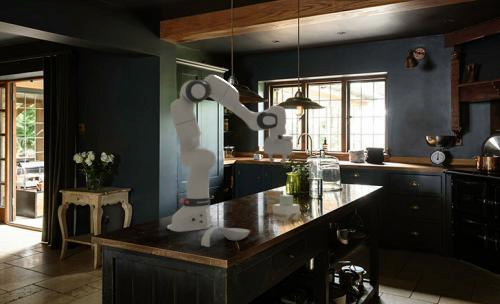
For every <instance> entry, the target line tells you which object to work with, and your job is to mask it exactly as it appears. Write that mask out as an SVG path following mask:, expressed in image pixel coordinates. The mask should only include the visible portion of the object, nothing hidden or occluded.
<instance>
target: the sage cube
mask: <svg viewBox="0 0 500 304" xmlns="http://www.w3.org/2000/svg"><path fill="white" fill-rule="evenodd" d="M293 204H294V195H292V194H283V195H280V205H283V206H290V205H293Z"/></svg>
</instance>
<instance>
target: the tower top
mask: <svg viewBox="0 0 500 304" xmlns="http://www.w3.org/2000/svg"><path fill="white" fill-rule="evenodd" d="M300 208H301V207H300V204H296V203H293V205H290V206H283V205H280V204H275V205H273V213H279V214H284V215H289V214H294V213H299V212H300V211H301V210H300ZM300 213H301V212H300Z"/></svg>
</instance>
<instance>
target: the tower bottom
mask: <svg viewBox="0 0 500 304" xmlns="http://www.w3.org/2000/svg"><path fill="white" fill-rule="evenodd" d="M272 219H273V220H276V221H279V220H280V221H281V222H284V221H285V222H284V223H288V222H287V221H289V222H293V221H298V220H299V221H300V220H301V212H299V213H294V214H289V215H284V214H279V213H273V214H272Z"/></svg>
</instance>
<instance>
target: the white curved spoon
mask: <svg viewBox="0 0 500 304" xmlns="http://www.w3.org/2000/svg"><path fill="white" fill-rule="evenodd" d="M216 231H219V232H221V234H223V236H224V237H225V238H227V240H229V241H241V240H244V239H245V238H246V237H248V236H249V234H250V230H249V229H245V228H240V227H239V228H237V227H236V228H235V227H234V228H233V227H231V228H230V227H229V228H227V227H222V226H218V225H217V226H215V225H214V226H211V227H210V228H208V229H207V230H206V231H205V232H204V234H203V236H202V237H201V240H200V241H201V242H200V243H201V246H202V247H206V248H210V247H211V246H210V244H211V241H210V240H211V236H212V235H213V234H214V232H216Z"/></svg>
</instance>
